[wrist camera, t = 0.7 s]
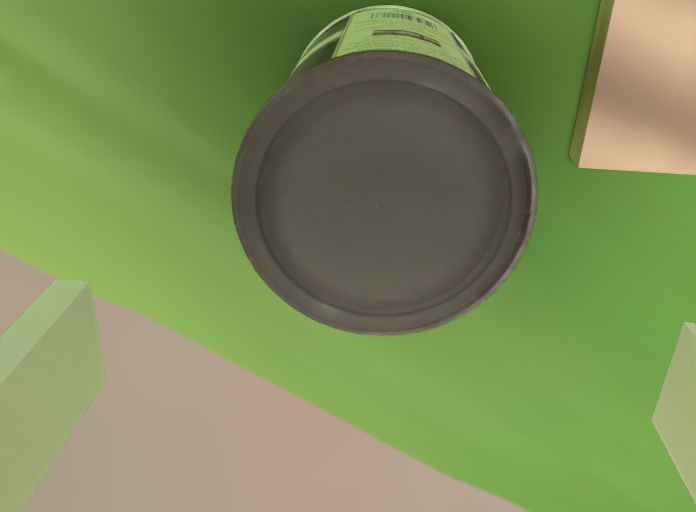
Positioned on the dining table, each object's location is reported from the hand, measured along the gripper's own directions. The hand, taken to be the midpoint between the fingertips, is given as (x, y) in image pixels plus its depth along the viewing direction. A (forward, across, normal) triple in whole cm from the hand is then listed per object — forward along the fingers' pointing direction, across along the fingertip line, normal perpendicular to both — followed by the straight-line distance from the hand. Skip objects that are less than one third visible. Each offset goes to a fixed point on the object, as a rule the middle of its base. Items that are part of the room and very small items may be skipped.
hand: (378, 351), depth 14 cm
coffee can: (+22, 0, 0) cm, 22 cm away
